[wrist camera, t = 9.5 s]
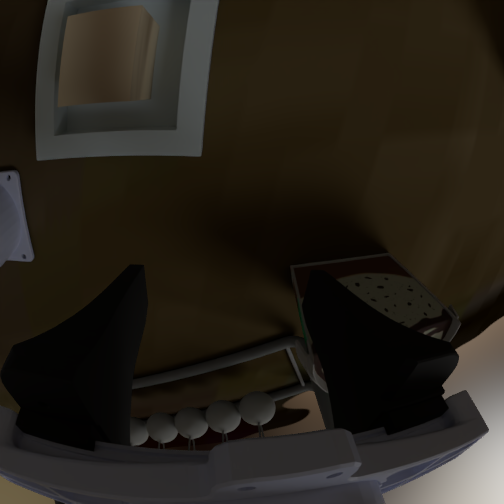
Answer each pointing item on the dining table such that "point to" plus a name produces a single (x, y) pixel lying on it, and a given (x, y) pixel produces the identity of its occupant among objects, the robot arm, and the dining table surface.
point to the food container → (376, 300)
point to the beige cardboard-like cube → (108, 56)
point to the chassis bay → (130, 112)
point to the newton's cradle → (223, 401)
